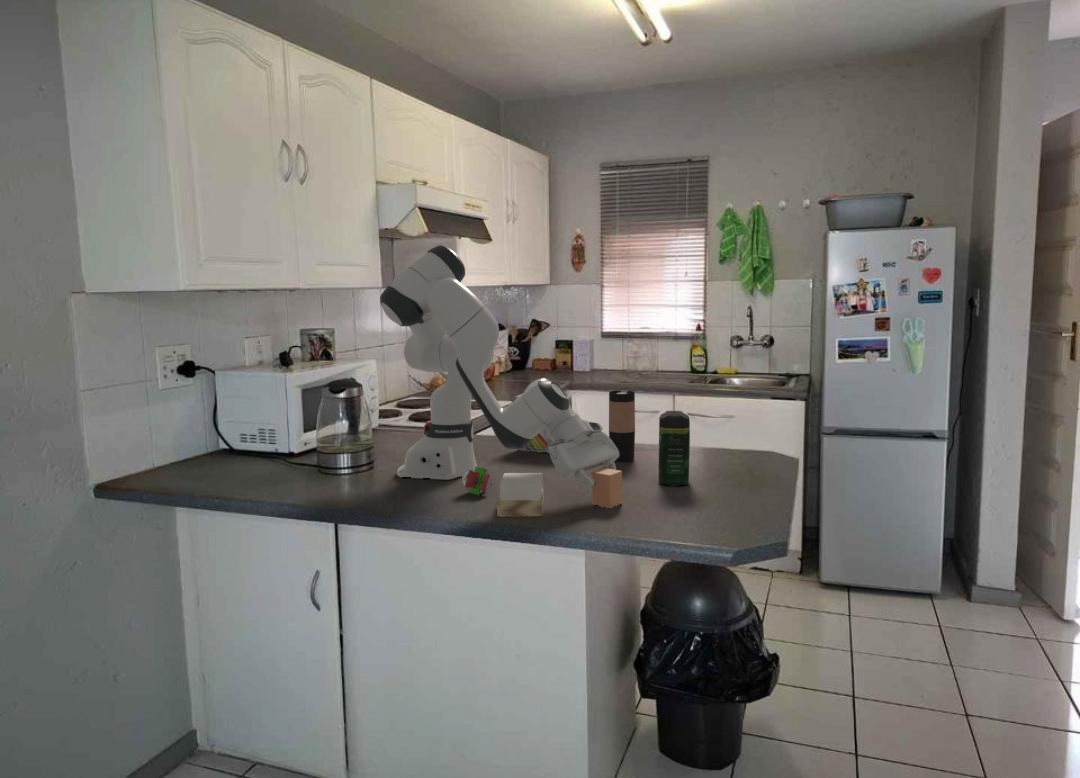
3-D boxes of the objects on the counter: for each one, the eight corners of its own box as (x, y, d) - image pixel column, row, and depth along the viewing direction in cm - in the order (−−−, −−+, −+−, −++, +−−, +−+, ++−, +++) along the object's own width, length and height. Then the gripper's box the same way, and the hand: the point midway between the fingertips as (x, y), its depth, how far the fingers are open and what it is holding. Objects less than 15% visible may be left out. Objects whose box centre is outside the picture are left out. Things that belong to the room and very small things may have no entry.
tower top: (500, 500, 171) (500, 482, 171) (504, 489, 180) (504, 473, 180) (540, 500, 171) (540, 482, 170) (542, 489, 180) (542, 472, 179)
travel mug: (618, 463, 219) (618, 394, 216) (604, 458, 226) (603, 391, 223) (640, 460, 223) (640, 392, 220) (625, 455, 229) (625, 389, 226)
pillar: (592, 505, 179) (592, 472, 178) (604, 500, 182) (604, 467, 181) (609, 509, 176) (609, 475, 174) (622, 504, 179) (622, 470, 178)
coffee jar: (690, 487, 193) (691, 415, 190) (658, 486, 194) (658, 414, 191) (688, 477, 202) (689, 408, 199) (658, 477, 203) (658, 408, 201)
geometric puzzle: (485, 478, 196) (469, 457, 192) (502, 483, 191) (486, 461, 187) (468, 499, 193) (452, 478, 189) (485, 504, 188) (468, 483, 184)
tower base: (497, 518, 171) (496, 500, 171) (502, 505, 181) (501, 488, 181) (541, 517, 171) (541, 500, 170) (543, 505, 181) (543, 488, 180)
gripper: (551, 435, 174) (585, 483, 169) (603, 422, 189) (636, 466, 184) (536, 452, 177) (570, 500, 172) (589, 437, 192) (621, 481, 187)
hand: (604, 482), depth 178 cm, fingers open, 8 cm apart
